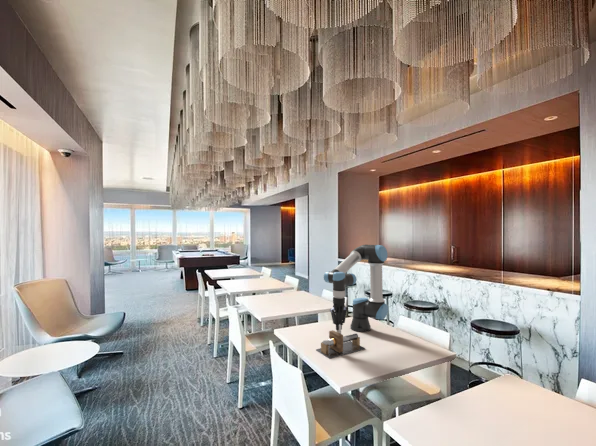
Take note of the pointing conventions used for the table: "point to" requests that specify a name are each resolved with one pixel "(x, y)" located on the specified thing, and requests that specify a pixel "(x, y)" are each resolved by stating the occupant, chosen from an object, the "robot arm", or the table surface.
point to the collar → (339, 341)
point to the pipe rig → (347, 346)
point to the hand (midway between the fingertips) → (338, 335)
